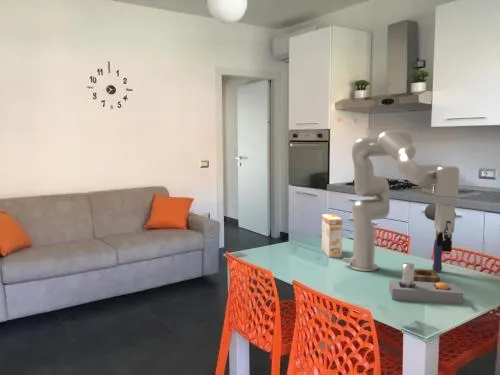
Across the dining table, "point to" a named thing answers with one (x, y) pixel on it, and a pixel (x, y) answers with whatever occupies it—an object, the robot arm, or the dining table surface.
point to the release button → (441, 286)
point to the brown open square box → (426, 276)
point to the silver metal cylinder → (408, 275)
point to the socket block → (426, 292)
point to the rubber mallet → (438, 251)
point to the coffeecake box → (332, 235)
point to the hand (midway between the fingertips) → (443, 248)
